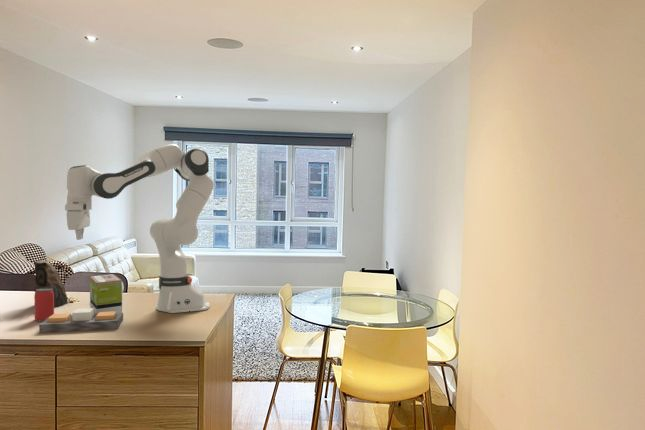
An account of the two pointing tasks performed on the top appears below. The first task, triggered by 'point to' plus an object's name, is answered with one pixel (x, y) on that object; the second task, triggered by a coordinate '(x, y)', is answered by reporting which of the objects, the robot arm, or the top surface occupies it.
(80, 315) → the key middle
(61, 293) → the owl
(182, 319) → the top surface
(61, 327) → the dark grey tray
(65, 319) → the key
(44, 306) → the beer can
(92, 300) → the tea box
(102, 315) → the key
